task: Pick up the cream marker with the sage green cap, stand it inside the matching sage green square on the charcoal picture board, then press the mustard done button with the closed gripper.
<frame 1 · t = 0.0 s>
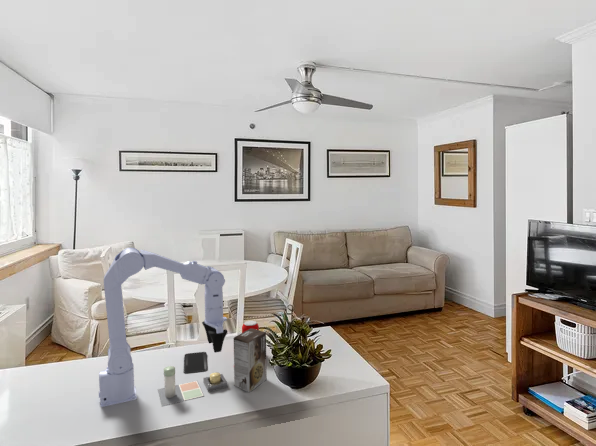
hand: (214, 347, 125), 10 cm above the counter, tool pointing down, fingers open, 7 cm apart
coffee box: (250, 383, 122), on the counter
beverage can: (250, 354, 143), on the counter
done button: (215, 378, 120), point 2 cm above the counter, slide at 0.0 cm
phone: (195, 365, 136), on the counter
button collar: (215, 386, 121), on the counter
picture board: (180, 394, 116), on the counter
marker: (170, 395, 115), resting on picture board
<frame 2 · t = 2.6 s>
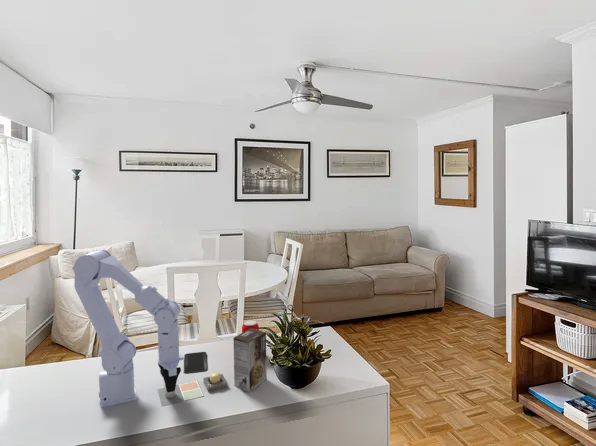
hand: (170, 388, 114), 3 cm above the counter, tool pointing down, fingers closed on marker, 3 cm apart
marker: (170, 395, 115), point 1 cm above the counter, touching gripper, picture board
everything else where it was.
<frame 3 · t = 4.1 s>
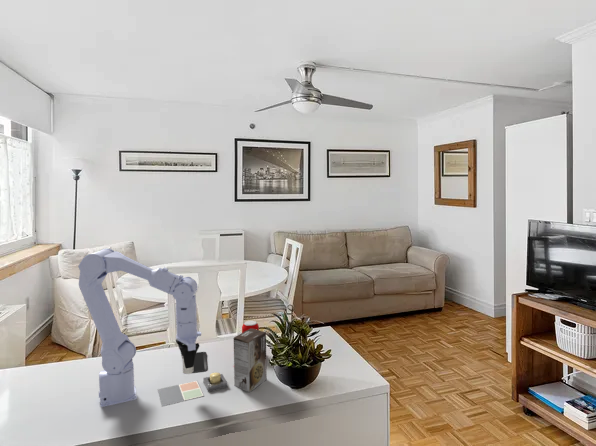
hand: (188, 364, 114), 10 cm above the counter, tool pointing down, fingers closed on marker, 3 cm apart
marker: (188, 371, 114), point 8 cm above the counter, touching gripper
everything else where it was.
when the fingers open (4 cm above the counter, at t = 6.0 s): marker stays where it is, resting on picture board.
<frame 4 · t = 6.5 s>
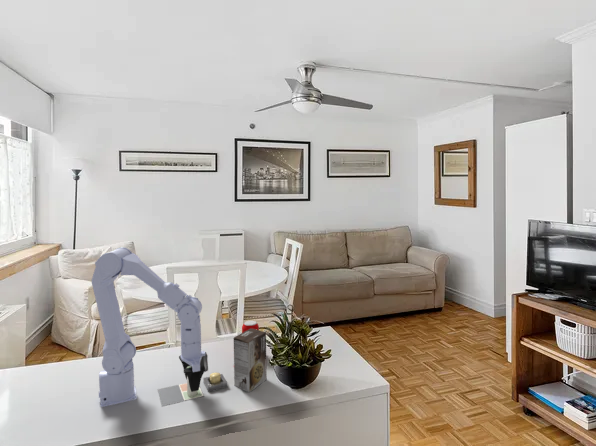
hand: (192, 384, 115), 4 cm above the counter, tool pointing down, fingers open, 7 cm apart
marker: (192, 393, 115), point 1 cm above the counter, touching picture board
everything else where it was.
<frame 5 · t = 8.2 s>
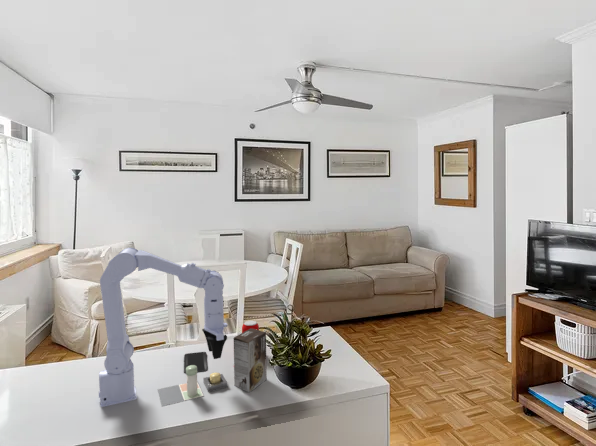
hand: (214, 354, 119), 10 cm above the counter, tool pointing down, fingers open, 5 cm apart
nothing on the counter moved.
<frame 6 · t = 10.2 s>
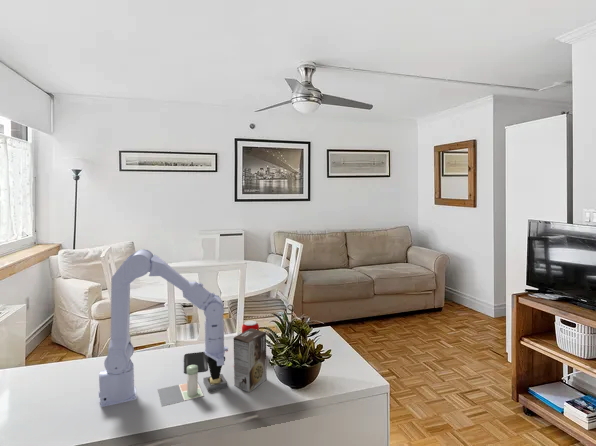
hand: (215, 378, 120), 3 cm above the counter, tool pointing down, fingers closed, pressing on done button
done button: (215, 381, 120), point 1 cm above the counter, slide at 1.0 cm, touching gripper
everything else where it was.
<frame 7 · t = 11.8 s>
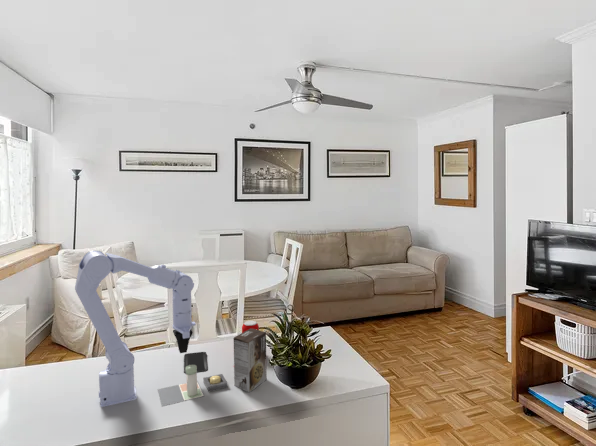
hand: (183, 351, 124), 9 cm above the counter, tool pointing down, fingers closed
done button: (215, 382, 120), point 1 cm above the counter, slide at 1.0 cm
everything else where it was.
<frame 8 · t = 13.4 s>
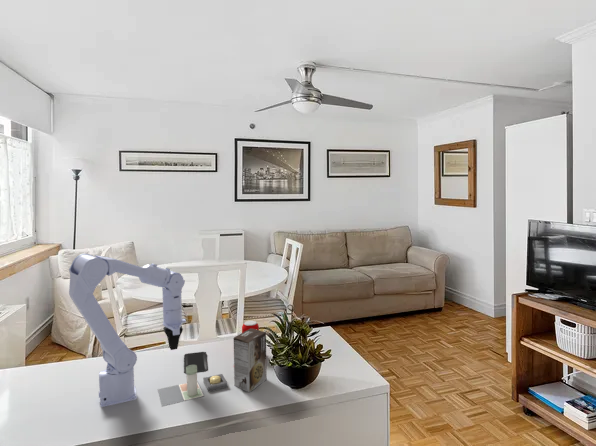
hand: (173, 348, 126), 9 cm above the counter, tool pointing down, fingers closed
nothing on the counter moved.
at the end: marker 0.0 cm from the target spot, point 0.7 cm above the counter; marker tilted 2°; done button slide at 1.0 cm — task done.
